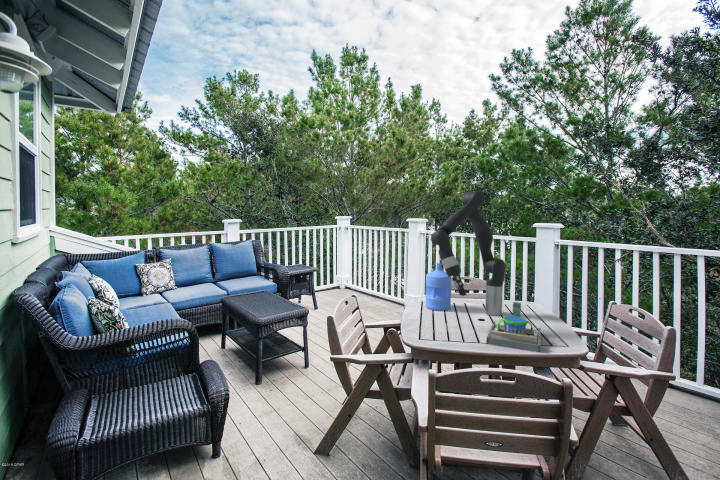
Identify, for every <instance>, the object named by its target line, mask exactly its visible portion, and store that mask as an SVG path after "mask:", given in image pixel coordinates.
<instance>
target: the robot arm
mask: <svg viewBox="0 0 720 480" xmlns="http://www.w3.org/2000/svg"><path fill="white" fill-rule="evenodd" d="M485 202H486V196H485V194H484V193H483V192H482V191H479V190H475V191H466V192H464V194H463V196H462V203H463V207H461V208H460V209H459V210H457V211H455V212H454V213H452V214H451V215H450V216H449V217H448V218H447V219H446V220H445V221H444V222H443V223H442V225H440V226H439V228H437V229H436V230H434V232H433V233H432V234H431V237H430V241H431V243H432V244H433V245H435V246H438V249H439V250H438V255H439V257H440V260H441V264H442V266H443V269H444V272H446V274H447V276H448V277H449V276H451V281H453V283H454V286H455V288H456V289H457V291H458V294H459V295H460V296H462V297H463V296H466V295H467V292H466V289H465V285H464V283H463V280H462V277H461V276H460V275H459V274H460V273H462V269H461V267H460V265H459V263H458V260H457V257H456V256H455V254H454V251H453V250H452V247H451V242H450V235H451V234H452V233H453V232H455V230H456V229H457V228H458V227H459V226H460V225H461V224H462V223H464V221H465V220H467V218H469V222H471V227H472V228H473V232H474V233H473V234H474V236H475V239H476V242H477V244H478V248H479V251H480V255H481V260H482V265H483V268H484V270H485V271H486V272H487V273H489V274H491V275H492V276H491V278H487V279H486V282H485V310H484V311H485V315H488V316H492V317H493V316H494V317H500V316H502V315H503V295H504V293H503V291H504V289H503V287H504V282H505V279H506V278H505V276H506V262H505V261H504V260H503V259H501V258H496V257H494V255H493V252H492V245H493V241H494V235H493V232H492V228H491V226H490V224H489V223H488V222H487V220H486V219H485V218H484V217H483V216H482V215H481V213H480V211H479V209H480V208H482V206H483V205H484V204H485Z"/></svg>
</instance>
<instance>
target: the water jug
mask: <svg viewBox="0 0 720 480" xmlns="http://www.w3.org/2000/svg"><path fill="white" fill-rule="evenodd" d="M435 264H436V265H435V267H436V269H435V270H433V271H431V272H427V274H426V276H425V281H426V282H425V285H426V286H425V287H426V288H425V308H426V309H429V310H431V311H437V312H438V311H440V312H441V311H447V310H448V311H449V310H450V309H451V307H452V304H451V302H452V301H451V298H452V297H451V296H452V276H449V277H448V276H447V274H446V271H445V270H442V262H441V263H439V262H438V263H435Z"/></svg>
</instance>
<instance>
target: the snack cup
mask: <svg viewBox="0 0 720 480" xmlns="http://www.w3.org/2000/svg"><path fill="white" fill-rule="evenodd" d="M501 322H503V324H504V327H505V330H504V332H506V333H513V334H520V335H525V333H524V332H525V328H526V327H527V325H528V324H529V325H530V329H531V331H530V335H533V334H532V332H533V329H534V327H533V324H532V323H531V322H530V321H528V320H527V319H526V318H525V317H522V316H521V317H517V316H513V315H505V316H503V318H500V319H499V321H497V329H498V331H499V332H500V330H499V325H501V324H500V323H501ZM526 329H527V328H526Z"/></svg>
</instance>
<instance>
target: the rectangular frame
mask: <svg viewBox="0 0 720 480" xmlns="http://www.w3.org/2000/svg"><path fill="white" fill-rule="evenodd" d="M495 325H496V322H495V321H493V322H492V325H491V327H490V330H489V331H488V334H487V336H486V344H487V345H491V346H497V347H503V348H509V349H510V348H511V349H517V350H521V351H522V350H523V351H528V350H529V352H534V351H536V353H541V331H542V330H541V329H542V328H540V327H538V329H537V330H538V333H537V344H531V343H524V342H518V341H511V340H504V339H498V338H491V337H490V334H491V330H492V331H493V330H494V328H495Z"/></svg>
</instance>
